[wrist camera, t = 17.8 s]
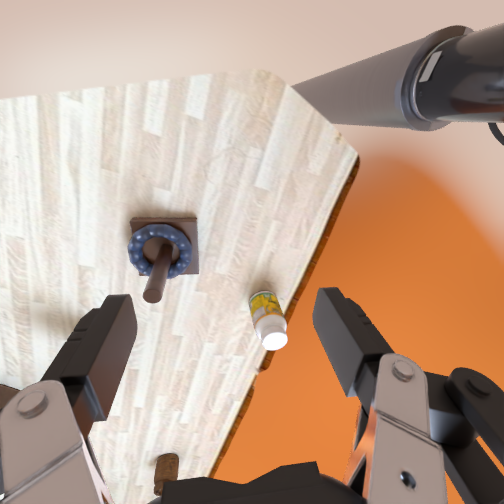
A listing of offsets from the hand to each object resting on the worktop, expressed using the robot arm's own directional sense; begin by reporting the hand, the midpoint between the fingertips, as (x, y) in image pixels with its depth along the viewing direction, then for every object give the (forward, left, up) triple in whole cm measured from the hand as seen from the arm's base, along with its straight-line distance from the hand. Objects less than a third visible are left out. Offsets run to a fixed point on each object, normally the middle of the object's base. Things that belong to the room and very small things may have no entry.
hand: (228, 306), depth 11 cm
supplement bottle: (-9, +23, -27) cm, 37 cm away
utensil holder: (+13, +77, -27) cm, 83 cm away
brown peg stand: (+7, +11, -27) cm, 30 cm away
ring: (+8, +11, -25) cm, 28 cm away
